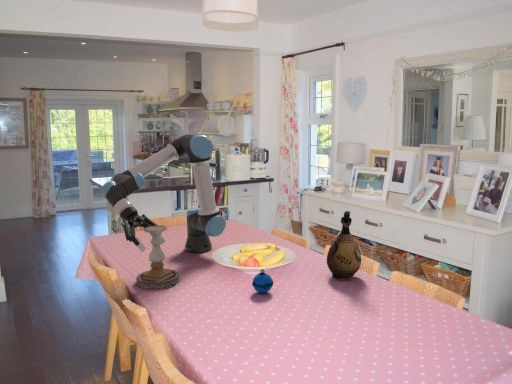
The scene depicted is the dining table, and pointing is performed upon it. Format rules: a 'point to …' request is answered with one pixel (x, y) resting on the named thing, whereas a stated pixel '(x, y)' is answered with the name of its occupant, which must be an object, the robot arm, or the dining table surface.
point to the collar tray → (157, 284)
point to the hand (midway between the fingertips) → (154, 246)
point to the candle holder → (156, 257)
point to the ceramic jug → (344, 253)
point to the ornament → (262, 282)
